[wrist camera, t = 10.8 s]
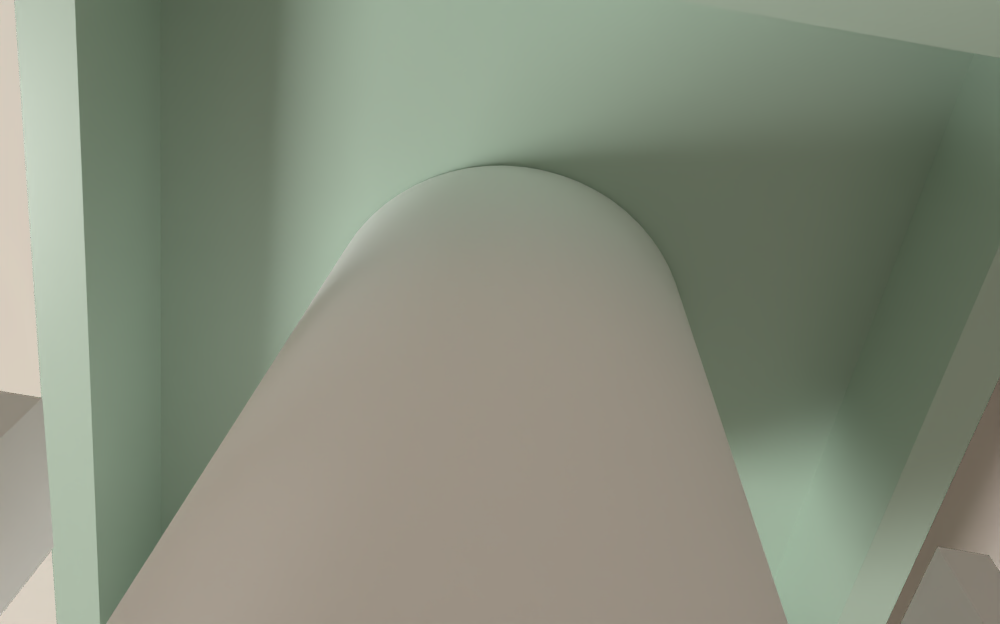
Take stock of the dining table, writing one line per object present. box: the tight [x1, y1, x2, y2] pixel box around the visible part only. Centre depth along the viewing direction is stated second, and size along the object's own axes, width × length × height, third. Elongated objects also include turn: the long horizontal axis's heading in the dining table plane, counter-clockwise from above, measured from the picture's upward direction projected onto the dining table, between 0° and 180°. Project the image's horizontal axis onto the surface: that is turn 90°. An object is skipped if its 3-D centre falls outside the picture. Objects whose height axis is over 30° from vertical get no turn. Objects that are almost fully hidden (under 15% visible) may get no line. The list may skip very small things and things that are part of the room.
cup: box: [106, 165, 788, 624], centre depth 13 cm, size 8×8×16 cm
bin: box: [14, 0, 1000, 624], centre depth 19 cm, size 18×18×4 cm
